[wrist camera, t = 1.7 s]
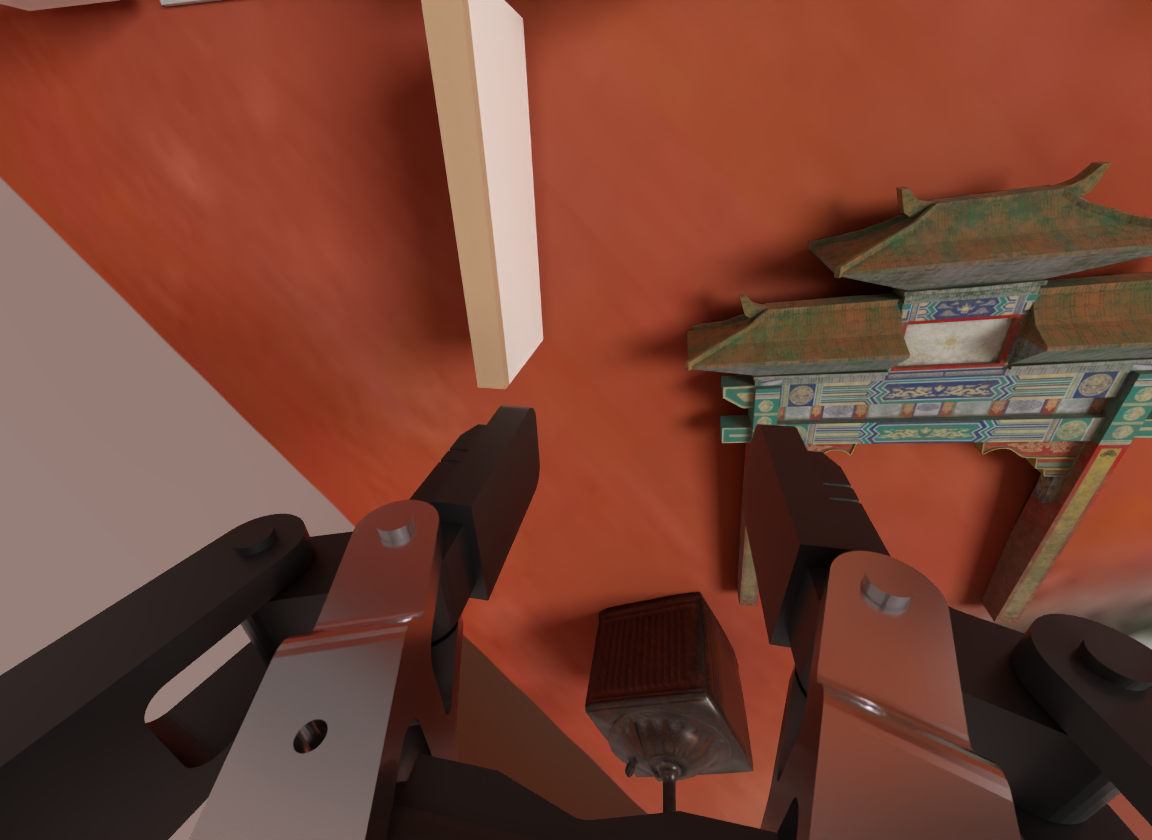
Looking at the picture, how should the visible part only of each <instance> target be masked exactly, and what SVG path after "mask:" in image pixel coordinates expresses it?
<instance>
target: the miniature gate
mask: <svg viewBox="0 0 1152 840" xmlns="http://www.w3.org/2000/svg"><path fill="white" fill-rule="evenodd" d="M1110 165H1111V163H1110V162H1094V163H1091V164H1090V165H1089V166H1088V167H1087V168H1085V169H1084V170H1083V171H1082V172H1081V173H1079V174H1078V175H1077V176H1075V177H1074V178H1072V179H1070V180H1067V181H1065V182H1063V183H1060V184H1056V185H1053V186H1050V185H1046V186H1037V187H1029V188H1021V189H1013V190H1005V191H996V192H988V193H980V194H972V195H964V196H955V197H947V198H939V199H931V200H926V201H925V200H918V199H917V198H916V197H915V196H914V195H913V194H912V192H911V190H910V189H909V188H905V187H900V188H897V200H898V208H899V211H900V212H901V213H902V215H899V216H896V217H894V218H891V219H889V220H886V221H883V222H881V223H878V224H876V225H873V226H870V227H868V228H865V229H862V230H858V231H854V232H849V233H845V234H841V235H836V236H832V237H828V238H823V239H819V240H815V241H808V251H811V252H812V253H813V254H814V255H816V256H817V257H818V258H819V259H820V260H821V261H822V262H823V263H824V264H825V265H826V266H827V267H828V268H829V269H830V270H831V271H832V272H834V273H835V274H834V278H840V277H845V278H850V279H855V280H859V281H864V282H869V283H874V284H879V285H883V286H888V287H893V293H884V294H872V295H859V296H847V297H835V298H822V299H810V300H798V301H785V302H773V303H765V304H758V303H755V302H752V301H751V300H750V299H749V298H748V297H747V296H746V295H745V294H744V293H743V294H739V297H740V300H741V304H742V308H743V311H744V313H745V314H742V315H739V316H736V317H733V318H730V319H727V320H724V321H718V322H710V323H702V324H696V325H692V330H691V331H689V332H687V348H688V360H687V361H685V370H687V371H689V370H691V369H695V370H705V371H715V372H725V373H735V374H745V375H734V376H721V389H722V395H723V398H724V399H725V400H727V401H729V402H731V403H733V404H735V405H737V406H739V407H741V408H748V415H737V416H720V435H721V442H722V443H746V448H745V463H744V478H745V473H746V468H747V463H748V458H749V453H750V448H751V443H752V438H753V433H754V430H755V427H756V425H757V424H766V425H780V426H794V427H796V428H797V429H798V431H799V434H800V436H801V438H802V440H803V442H804V444H805V446H806V448H807V451H817V452H822V453H826V452H829V451H832V450H840V451H843V452H846V453H847V454H848V455H852V453H853V451H854V449H855V447H856V445H857V444H878V443H961V442H974V446H975V447H976V448H977V449H978V450H979V451H980V452H981V453H982V454H986V453H988V452H990V451H993V450H996V449H1010V450H1012V451H1013V452H1015V453H1016V454H1017V455H1019V456H1021V457H1024V458H1026V460H1027V461H1028V462H1029V463H1030V464H1031V465H1032V466H1033V467H1034V468H1035V469H1037V470H1038V471H1039V472H1040V473H1041V475H1040V477H1039V479H1038V481H1037V484H1036V486H1035V488H1034V490H1033V491H1032V493H1031V495H1030V497H1029V499H1028V501H1027V503H1026V505H1025V507H1024V509H1023V510H1022V512H1021V514H1020V516H1019V518H1018V520H1017V522H1016V524H1015V526H1014V527H1013V529H1012V531H1011V533H1010V536H1009V538H1008V540H1007V543H1006V545H1005V547H1004V550H1003V552H1002V554H1001V557H1000V559H999V561H998V564H997V566H996V568H995V571H994V573H993V575H992V578H991V580H990V582H989V585H988V587H987V589H986V592H985V594H984V596H983V598H982V601H981V602H982V603H983V605H984V606H985V608H986V610H987V611H988V613H989V614H990V616H991V617H992V619H993V620H994V622H1005V623H1017V621H1018V620H1019V618H1020V617H1021V615H1022V613H1023V612H1024V610H1025V609H1026V607H1027V606H1028V604H1029V602H1030V601H1031V599H1032V598H1033V596H1034V595H1035V593H1036V591H1037V590H1038V588H1039V587H1040V585H1041V584H1042V582H1043V580H1044V579H1045V577H1046V576H1047V574H1048V572H1049V571H1050V569H1051V568H1052V566H1053V565H1054V563H1055V561H1056V560H1057V558H1058V557H1059V555H1060V554H1061V552H1062V550H1063V549H1064V547H1065V546H1066V544H1067V543H1068V541H1069V539H1070V538H1071V536H1072V535H1073V533H1074V532H1075V530H1076V528H1077V527H1078V525H1079V524H1080V522H1081V521H1082V519H1083V517H1084V516H1085V514H1086V513H1087V511H1088V510H1089V508H1090V506H1091V505H1092V503H1093V502H1094V500H1095V499H1096V497H1097V495H1098V494H1099V492H1100V491H1101V489H1102V488H1103V486H1104V484H1105V483H1106V481H1107V480H1108V478H1109V476H1110V475H1111V473H1112V472H1113V470H1114V469H1115V467H1116V465H1117V464H1118V462H1119V461H1120V459H1121V458H1122V456H1123V454H1124V453H1125V451H1126V450H1127V448H1128V447H1129V445H1130V443H1131V442H1132V440H1133V439H1134V438H1150V437H1152V272H1143V273H1131V274H1118V275H1106V276H1094V277H1081V278H1069V279H1057V280H1046V279H1048V278H1052V277H1057V276H1061V275H1066V274H1070V273H1075V272H1079V271H1084V270H1088V269H1093V268H1098V267H1102V266H1107V265H1111V264H1116V263H1120V262H1125V261H1129V260H1134V259H1138V258H1143V257H1147V256H1152V218H1149V217H1144V216H1138V215H1133V214H1129V213H1126V212H1122V211H1119V210H1115V209H1114V208H1108V207H1105V206H1101V205H1098V204H1094V203H1091V202H1088V201H1086V200H1085V199H1083V198H1081V197H1083V196H1084V195H1086V194H1088V193H1089V192H1091V191H1092V190H1093V188H1094V187H1095V186H1096V184H1097V183H1098V182H1099V180H1100V179H1101V177H1102V176H1103V175H1104V173H1105V172H1106V170H1107V169H1108V168H1109V166H1110ZM744 478H743V483H744ZM737 590H738V597H739V604H740V605H751V606H757V600H758V591H759V588H758V583H757V578H756V574H755V569H754V564H753V559H752V554H751V549H750V544H749V539H748V534H747V529H746V524H745V519H744V514H743V507H742V508H741V523H740V542H739V562H738V582H737Z"/></svg>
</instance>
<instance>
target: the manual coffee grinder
mask: <svg viewBox="0 0 1152 840" xmlns="http://www.w3.org/2000/svg"><path fill="white" fill-rule="evenodd" d="M585 708H586V713H587V714H588V716H589V717H590V718H591V720H592V721H593V722H594V724H595V725H596V726H597V728H598V729H599V730H600V732H601V733H602V734H603V735H604V737H605V738H606V739H607V740H608V742H609V745H610V747H611V750H612V751H613V753H614V754H615V755H616V756H617V757H618V758H619V759H620V760H621V761H623V762H625V763H626V764H627V766H626V769H625V774H626V775H627V776H628V777H631V776H632V774H633V773H634V774H635V775H636V777H655V778H656V779H657V780H658V781H663V813H666V812H676V799H675V783H676V780H683V779H686V778H690V777H694V776H696V775H705V774H723V773H735V772H748V771H753V761H752V754H751V747H750V739H749V732H748V725H747V718H746V712H745V705H744V699H743V693H742V687H741V682H740V677H739V671H738V663H737V659H736V656H735V653H734V650H733V648H732V646H731V644H730V642H729V640H728V638H727V636H726V635H725V633H724V631H723V629H722V627H721V626H720V624H719V622H718V620H717V619H716V617H715V615H714V614H713V612H712V611H711V609H710V607H709V606H708V604H707V603H706V601H705V599H704V598H703V596H702V595H701V593H700V592H698V593H689V594H680V595H674V596H669V597H664V598H658V599H653V600H648V601H643V602H637V603H632V604H627V605H622V606H617V607H612V608H607V609H606V610H604V611H602V612H600V613H599V625H598V631H597V637H596V643H595V649H594V655H593V661H592V667H591V673H590V679H589V685H588V691H587V697H586V704H585Z"/></svg>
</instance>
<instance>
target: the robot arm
mask: <svg viewBox="0 0 1152 840" xmlns="http://www.w3.org/2000/svg"><path fill="white" fill-rule="evenodd" d="M539 470H540V463H539V449H538V437H537V424H536V414H535V411H534V409H533V408H529V407H515V406H500V407H499V409H498V410H497V411H496V413H495V414H494V415H493V417H492V418H491V420H490V421H489V422H488V424H487V425H479V424H478V425H476V426H475V427H473V428H472V429H470V430H468V431H467V432H465V433H463V434H462V435H460V437H459V438H458V439H457V440H456V442H455V443H454V444H453V445H452V447H451V448H450V451H448V452H447V453H446V454H445V455H444V457H443V458H442V459H441V463H440V462H439V463H438V464H437V466H436V467H435V468H434V469H433V471H432V472H431V473H430V474H429V476H428V477H427V478H426V479H425V481H424V482H423V483H422V484H421V486H420V487H419V488H418V489H417V491H416V492H415V493H414V494H413V496H412V497H411V498H410V499H409V500H403V501H397V502H393V503H389V504H387V505H384V506H382V507H380V508H377V509H376V510H374V511H372V512H371V513H369V514H368V515H366V516H365V517H364V518H363V519H362V520H361V521H360V522H359V523H358V524H357V526H356V527H355V529H354V531H353V532H346V533H338V534H330V535H322V536H314V537H310V536H309V534H308V531H307V529H306V527H305V524H304V522H303V521H302V520H301V519H300V518H299V517H297V516H294V515H291V514H274V515H268V516H263V517H260V518H257V519H254V520H251V521H248V522H246V523H244V524H242V525H240V526H238V527H236V528H235V529H232V530H231V531H229V532H228V533H226V534H224V535H223V536H221V537H220V538H218V539H216V540H215V541H213V542H212V543H210V544H208V545H207V546H205V547H204V548H202V549H201V550H199V551H197V552H196V553H194V554H193V555H191V556H189V557H188V558H186V559H185V560H183V561H181V562H180V563H178V564H177V565H175V566H174V567H172V568H170V569H169V570H167V571H166V572H164V573H163V574H161V575H159V576H158V577H156V578H155V579H153V580H152V581H150V582H148V583H147V584H145V585H143V586H142V587H140V588H139V589H137V590H135V591H134V592H132V593H131V594H129V595H128V596H126V597H124V598H123V599H121V600H120V601H118V602H117V603H115V604H113V605H112V606H110V607H108V608H107V609H105V610H104V611H102V612H101V613H99V614H97V615H96V616H94V617H93V618H91V619H89V620H88V621H86V622H85V623H83V624H82V625H80V626H78V627H77V628H75V629H74V630H72V631H70V632H69V633H67V634H66V635H64V636H62V637H61V638H60V639H58V640H56V641H55V642H53V643H51V644H50V645H48V646H47V647H45V648H43V649H42V650H40V651H39V652H37V653H36V654H34V655H32V656H31V657H29V658H28V659H26V660H24V661H23V662H21V663H20V664H18V665H17V666H15V667H14V668H12V669H10V670H9V671H7V672H5V673H4V674H2V675H1V676H0V840H168V839H169V838H170V837H171V836H172V835H173V834H174V833H175V832H176V831H177V830H178V829H179V828H180V827H181V825H182V824H183V823H184V822H185V821H186V820H187V819H188V818H189V817H190V816H191V815H192V814H193V813H194V812H195V811H196V810H197V809H198V808H199V807H200V806H201V805H202V803H203V802H204V801H205V800H206V799H207V798H208V799H207V802H206V804H205V806H204V808H203V810H202V812H201V814H200V817H199V819H198V821H197V823H196V825H195V827H194V830H193V832H192V834H191V837H190V838H189V840H1139V839H1138V838H1137V837H1136V836H1135V835H1134V833H1133V832H1132V831H1131V830H1130V829H1129V828H1128V827H1127V826H1126V824H1125V823H1124V822H1123V821H1122V820H1121V819H1120V818H1119V816H1118V815H1117V814H1116V813H1115V812H1114V811H1113V810H1112V809H1111V807H1110V806H1109V805H1108V804H1107V803H1109V802H1110V801H1111V800H1112V799H1114V798H1115V797H1116V796H1117V795H1119V794H1120V793H1122V794H1123V795H1124V796H1125V797H1126V799H1128V801H1129V802H1130V803H1131V804H1132V805H1133V806H1134V807H1135V808H1136V809H1137V810H1138V812H1139V813H1140V814H1141V815H1142V816H1143V817H1144V818H1145V819H1146V820H1147V821H1148V822H1149V824H1150V825H1151V826H1152V650H1151V649H1150V648H1148V647H1146V646H1145V645H1143V644H1142V643H1140V642H1138V641H1136V640H1135V639H1133V638H1131V637H1129V636H1127V635H1125V634H1123V633H1121V632H1119V631H1117V630H1115V629H1113V628H1110V627H1108V626H1105V625H1103V624H1100V623H1098V622H1095V621H1092V620H1089V619H1085V618H1081V617H1077V616H1073V615H1065V614H1049V615H1043V616H1041V617H1039V618H1037V619H1036V620H1035V621H1034V622H1033V623H1032V624H1031V626H1030V627H1029V628H1028V630H1027V631H1026V632H1025V634H1024V633H1021V632H1018V631H1015V630H1012V629H1009V628H1007V627H1004V626H1001V625H998V624H995V623H992V622H989V621H986V620H983V619H980V618H978V617H975V616H972V615H969V614H966V613H963V612H961V611H958V610H956V609H953V608H951V607H949V606H948V605H947V602H946V600H945V598H944V596H943V595H942V593H941V592H940V590H939V589H938V588H937V587H936V586H935V585H934V584H933V583H932V582H931V581H930V580H929V579H928V578H927V577H926V576H924V575H923V574H922V573H920V572H919V571H917V570H916V569H915V568H913V567H911V566H909V565H908V564H906V563H904V562H902V561H900V560H897V559H895V558H892V557H890V555H889V553H888V551H887V549H886V548H885V546H884V544H883V542H882V540H881V539H880V537H879V535H878V533H877V531H876V530H875V528H874V526H873V524H872V522H871V521H870V519H869V517H868V515H867V513H866V512H865V510H864V508H863V506H862V504H859V499H858V497H857V495H856V494H855V492H854V490H853V489H852V488H850V486H851V485H850V483H849V481H848V479H847V478H846V476H845V474H844V472H843V470H842V469H841V467H840V466H838V465H837V464H836V463H835V462H834V461H832V460H831V459H830V458H829V457H827V456H826V455H825V454H824V453H822V452H817V451H807V448H806V446H805V444H804V442H803V440H802V438H801V436H800V434H799V431H798V429H797V428H796V427H794V426H780V425H766V424H757V425H756V427H755V430H754V433H753V438H752V443H751V448H750V453H749V458H748V463H747V468H746V473H745V478H744V483H743V491H742V507H743V514H744V519H745V524H746V529H747V534H748V539H749V544H750V549H751V554H752V559H753V564H754V569H755V574H756V578H757V583H758V588H759V593H760V598H761V603H762V608H763V613H764V618H765V623H766V628H767V633H768V638H769V643H770V644H772V645H778V646H785V647H791V649H792V654H793V658H794V662H795V666H794V669H793V671H792V674H791V677H790V681H789V686H788V692H787V698H786V703H785V709H784V715H783V720H782V726H781V732H780V737H779V743H778V749H777V754H776V760H775V766H774V772H773V777H772V783H771V788H770V793H769V798H768V802H767V806H766V810H765V813H764V817H763V820H762V824H761V828H760V829H758V828H753V827H749V826H744V825H740V824H735V823H731V822H726V821H722V820H717V819H713V818H708V817H704V816H699V815H695V814H690V813H686V812H681V811H676V812H666V813H657V814H647V815H637V816H627V817H619V818H608V819H598V820H582V819H578V818H576V817H574V816H572V815H570V814H568V813H567V812H565V811H563V810H562V809H560V808H558V807H557V806H555V805H553V804H552V803H550V802H549V801H546V800H545V799H543V798H542V797H540V796H539V795H537V794H535V793H534V792H532V791H530V790H529V789H527V788H526V787H524V786H522V785H521V784H519V783H517V782H516V781H514V780H512V779H511V778H509V777H507V776H506V775H504V774H502V773H501V772H499V771H497V770H492V769H488V768H483V767H479V766H474V765H470V764H465V763H461V762H458V750H457V737H456V722H457V707H458V692H459V680H460V665H461V652H462V651H461V650H462V638H463V619H462V615H461V614H462V612H463V610H464V607H465V605H466V603H467V601H468V599H469V598H476V599H482V600H489V597H490V595H491V593H492V590H493V588H494V586H495V583H496V581H497V579H498V576H499V574H500V572H501V569H502V567H503V565H504V562H505V560H506V558H507V555H508V553H509V551H510V548H511V546H512V544H513V541H514V539H515V537H516V534H517V532H518V530H519V527H520V525H521V523H522V520H523V518H524V516H525V514H526V511H527V509H528V507H529V504H530V502H531V500H532V497H533V495H534V493H535V490H536V487H537V484H538V479H539ZM239 624H241V625H242V627H243V629H244V630H245V632H246V634H247V635H248V637H249V638H250V640H251V642H250V643H248V644H247V645H246V646H245V647H244V648H243V649H241V650H240V651H239V652H238V653H237V654H235V655H234V656H233V657H232V658H231V659H230V660H228V661H227V662H226V663H225V664H224V665H223V666H221V667H220V668H219V669H218V670H217V671H216V672H214V673H213V674H212V675H211V676H210V677H209V678H207V679H206V680H205V681H204V682H203V683H201V684H200V685H199V686H198V687H197V688H195V689H194V690H193V691H192V692H191V693H190V694H189V695H187V696H186V697H185V698H184V699H183V700H182V701H180V702H179V703H178V704H177V705H175V706H174V707H173V708H172V709H171V710H170V711H168V712H167V713H166V714H164V715H163V716H161V717H160V718H158V719H156V720H154V721H151V722H149V723H145V721H144V715H145V711H146V708H147V706H148V704H149V702H150V701H151V699H152V698H153V697H154V695H155V694H156V693H157V692H158V691H159V690H160V689H161V688H162V687H163V686H164V685H165V684H166V683H167V682H169V681H170V680H171V679H172V678H174V677H175V676H176V675H177V674H179V673H180V672H181V671H182V670H184V669H185V668H186V667H187V666H188V665H190V664H191V663H192V662H193V661H195V660H196V659H197V658H198V657H200V656H201V655H202V654H203V653H205V652H206V651H207V650H208V649H210V648H211V647H212V646H213V645H215V644H216V643H217V642H218V641H220V640H221V639H222V638H223V637H224V636H226V635H227V634H228V633H230V632H231V631H232V630H233V629H234V628H236V627H237V626H238V625H239Z"/></svg>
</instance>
